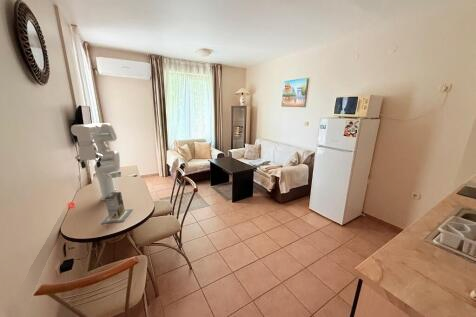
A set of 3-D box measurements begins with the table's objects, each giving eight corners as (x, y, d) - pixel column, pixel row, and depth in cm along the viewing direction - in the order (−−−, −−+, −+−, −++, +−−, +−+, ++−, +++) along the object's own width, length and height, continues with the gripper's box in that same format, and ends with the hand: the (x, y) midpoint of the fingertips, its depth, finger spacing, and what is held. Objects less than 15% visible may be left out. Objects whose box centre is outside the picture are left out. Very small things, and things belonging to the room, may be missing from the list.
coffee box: (116, 212, 138) (111, 192, 134) (125, 211, 139) (121, 191, 135) (109, 219, 130) (104, 198, 126) (118, 218, 130) (114, 197, 126)
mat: (112, 211, 141) (112, 210, 141) (132, 209, 143) (132, 208, 143) (101, 224, 126) (100, 223, 126) (123, 221, 128) (123, 220, 127)
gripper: (102, 142, 134) (107, 165, 139) (75, 143, 132) (81, 166, 137) (96, 143, 127) (102, 168, 132) (68, 145, 125) (74, 169, 129)
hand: (91, 167), depth 134 cm, fingers open, 9 cm apart
